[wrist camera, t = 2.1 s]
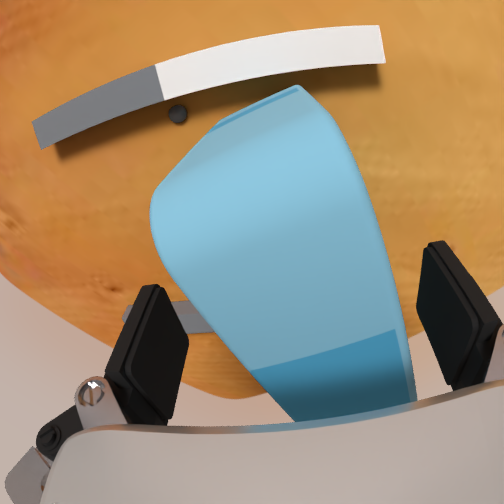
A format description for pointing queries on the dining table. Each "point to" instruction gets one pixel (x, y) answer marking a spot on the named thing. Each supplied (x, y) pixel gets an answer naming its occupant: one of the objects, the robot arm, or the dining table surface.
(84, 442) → the robot arm
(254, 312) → the blue rounded box
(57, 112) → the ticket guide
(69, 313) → the dining table surface
